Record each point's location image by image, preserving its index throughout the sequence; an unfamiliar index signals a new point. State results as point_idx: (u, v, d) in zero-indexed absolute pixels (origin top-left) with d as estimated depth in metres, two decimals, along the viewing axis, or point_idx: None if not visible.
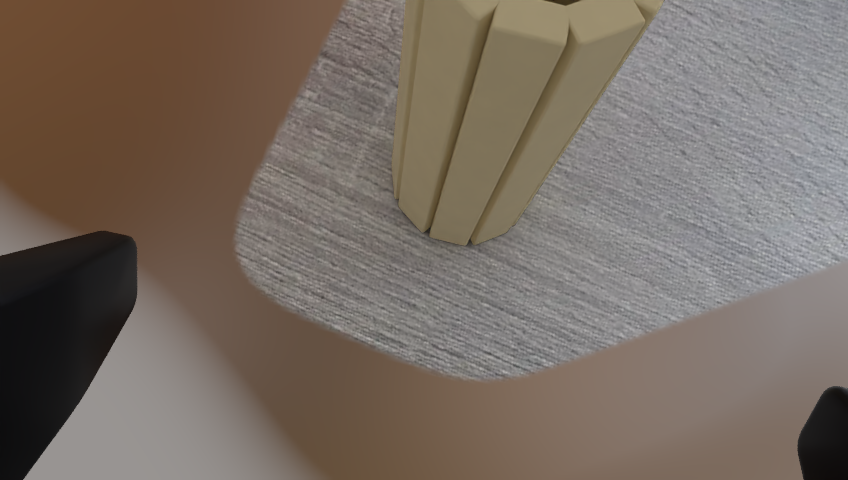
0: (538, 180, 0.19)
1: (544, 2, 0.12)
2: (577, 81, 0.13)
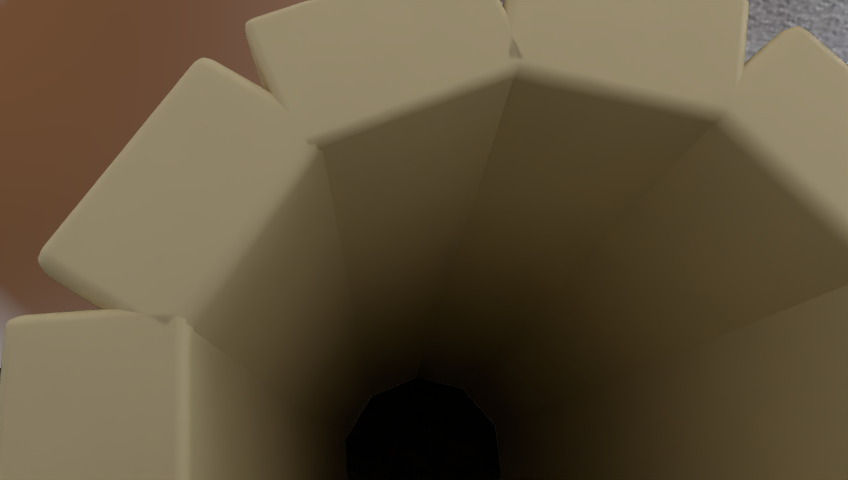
0: None
1: None
2: None
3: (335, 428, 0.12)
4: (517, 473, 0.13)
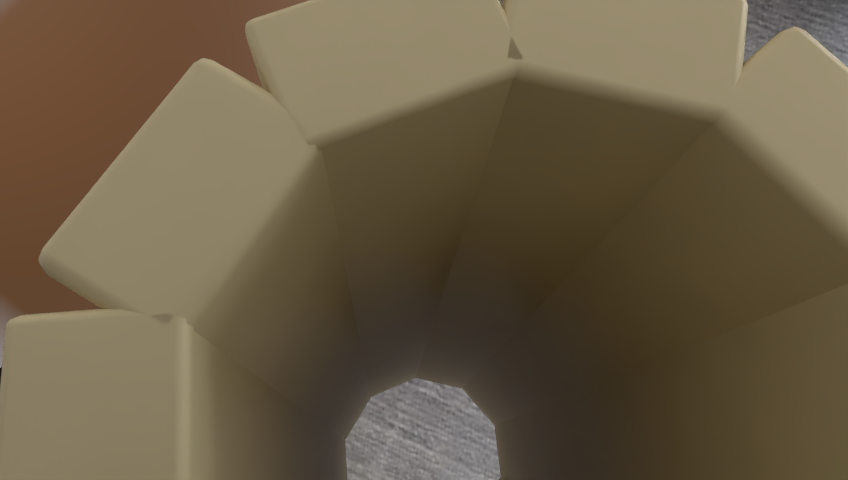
0: None
1: None
2: None
3: (335, 428, 0.12)
4: (517, 473, 0.13)
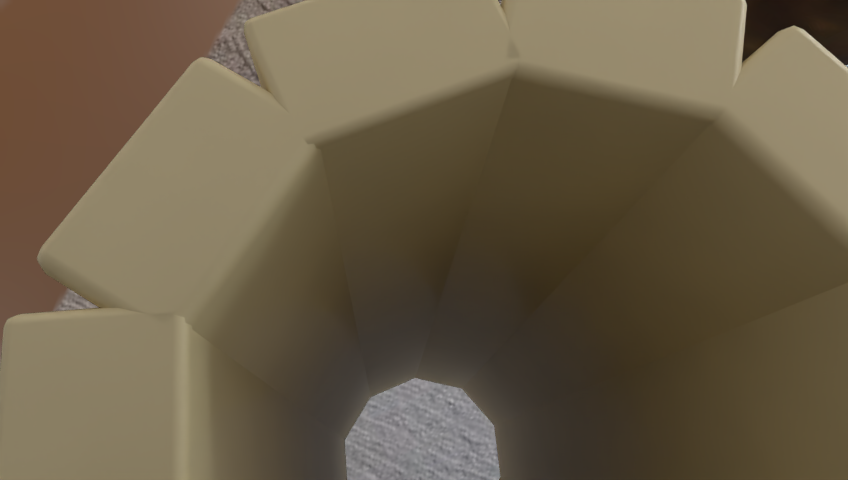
0: None
1: None
2: None
3: (334, 428, 0.12)
4: (516, 473, 0.13)
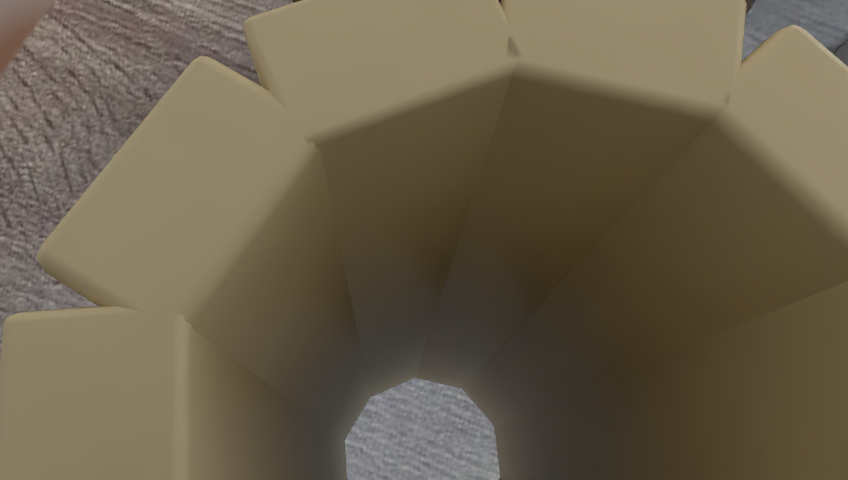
0: None
1: None
2: None
3: (334, 428, 0.12)
4: (516, 473, 0.13)
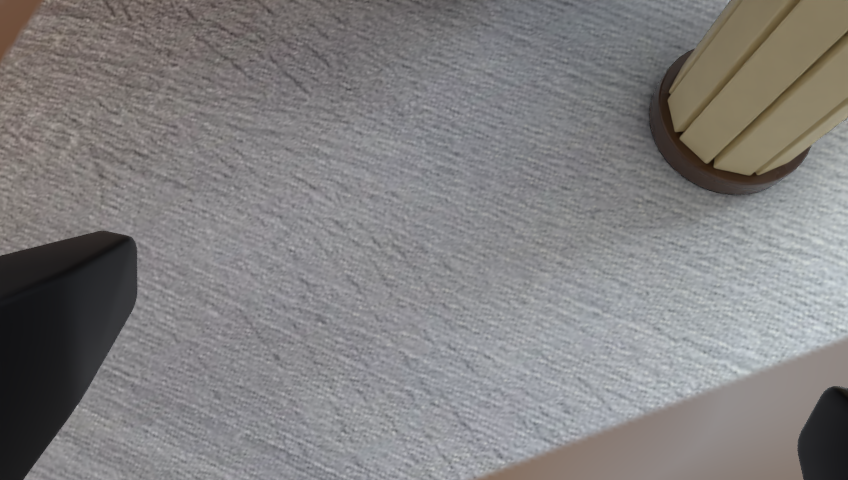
0: None
1: None
2: None
3: None
4: None
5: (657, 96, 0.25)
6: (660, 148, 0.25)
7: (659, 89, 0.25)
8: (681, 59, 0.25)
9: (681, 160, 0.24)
